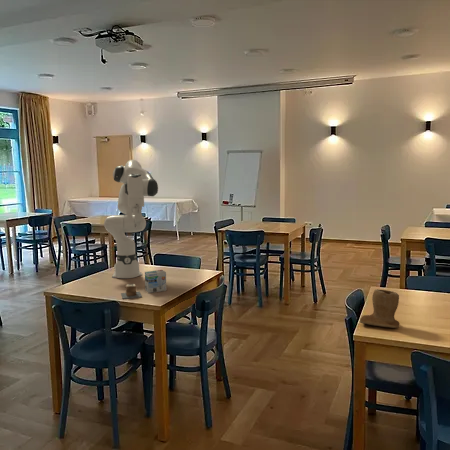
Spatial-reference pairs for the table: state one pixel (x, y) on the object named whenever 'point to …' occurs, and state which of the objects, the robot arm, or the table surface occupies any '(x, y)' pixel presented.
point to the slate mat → (131, 296)
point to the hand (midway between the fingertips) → (137, 228)
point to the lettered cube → (131, 290)
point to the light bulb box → (155, 281)
